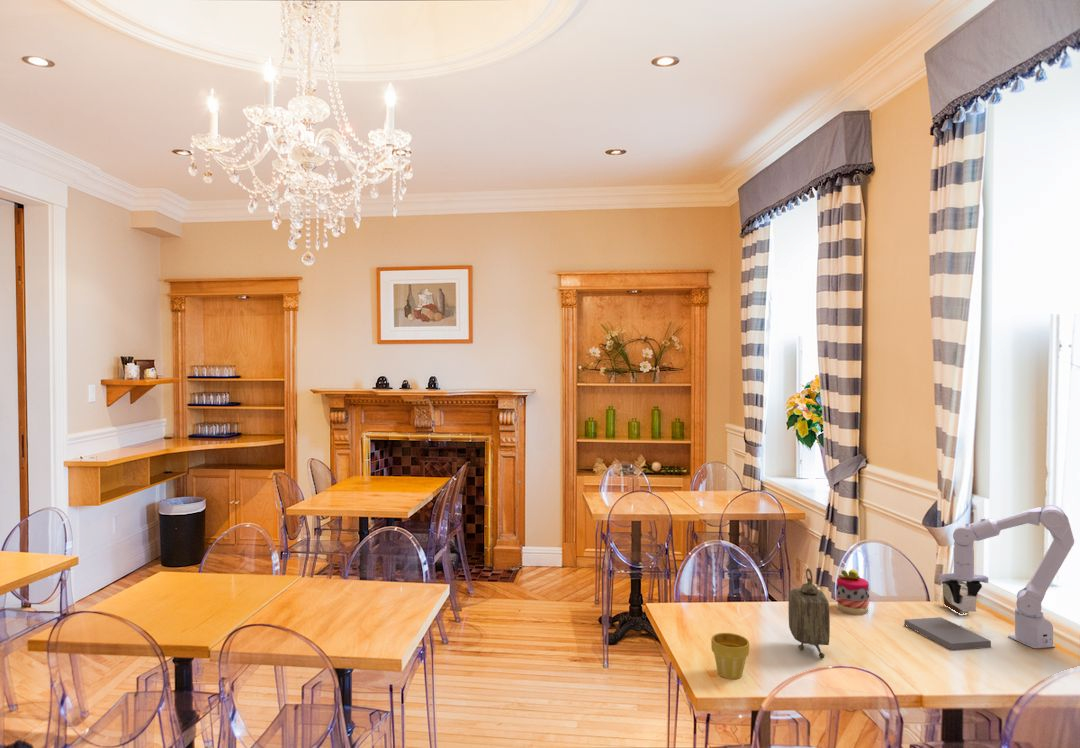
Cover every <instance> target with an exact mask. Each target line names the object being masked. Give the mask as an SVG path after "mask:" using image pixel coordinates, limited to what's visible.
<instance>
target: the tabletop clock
mask: <svg viewBox="0 0 1080 748" xmlns="http://www.w3.org/2000/svg"><path fill="white" fill-rule="evenodd" d="M808 574H809V575H810V578H809V576H808ZM805 576H806V577H805V579H806V581H807V583H804V584H802V585H801V587H800V588H794V589H791V590H790V591H788V627H789V630H790V634H791V635H792V637H793V638H794V639H795V640H796V641H797V642H799V643H800V644H799V645H798V649H799V650H800V651H804V650H805V646H804V644H807V645H808V644H809V645H814V647H815V648H816V650H817V651H818V652H819V654H818V657H819V658H820V659H825V657H826V655H825V653H823V652H822V650H821V648H820V646H819V645H821V646H829V645H830V634H831V632H830V629H831V627H830V626H831V624H830V622H831V620H830V619H831V618H830V617H831V616H830V615H831V614H830V603H829V601H828V598H827V596H826V595H825V593H824V592H823V591H822V590H821V589H818V587H817V586H816V585H815V584H813V574H812V571H811V569H810V568H809V567H808V568H806V570H805Z"/></svg>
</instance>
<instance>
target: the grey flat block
mask: <svg viewBox="0 0 1080 748" xmlns="http://www.w3.org/2000/svg"><path fill="white" fill-rule="evenodd" d="M905 625H907V626H908V627H910V628H912V629H914V630H916V631H918V632H919V633H918V632H917V633H918V634H920V633H921V634H920V635H922V634H923V635H924V637H925V636H927V637H928V638H927V637H926V638H927V639H929V638H930V640H931V639H932V640H931V641H933V640H934V642H935V641H936V642H935V643H937V642H938V643H937V644H939V645H941V646H943V647H944V646H945V647H944V648H947V649H949V650H950V651H957V650H958V651H959V650H972V649H982V648H983V649H984V648H985V649H986V648H992V641H991V640H990V639H988V638H985V636H982V635H980V634H977V633H976V632H973V631H971V630H968V629H967V628H964V627H963V626H960V625H958V624H956V623H954V622H952V621H951V620H947V619H946V618H943V617H940V616H939V617H927V618H926V617H925V618H924V617H923V618H912V619H911V618H909V619H904V626H905ZM908 627H907V628H908ZM910 628H909V629H910ZM912 629H911V630H912ZM914 630H913V631H914ZM916 631H915V632H916ZM923 635H922V636H923Z"/></svg>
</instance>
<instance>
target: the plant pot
mask: <svg viewBox="0 0 1080 748" xmlns="http://www.w3.org/2000/svg"><path fill="white" fill-rule="evenodd" d="M710 640H711V643H710V644H711V651H712V652H713V655H714V659H715V660H714V661H715V665H716V671H717V674H718V675H719V676H720V677H721V678H724V679H728V680H739V679H741V678H742V677H743V673H744V668H745V664H746V659H747V657H749V655H750V640H749V639H748V638H746V637H745V636H742V635H740V634H736V633H733V632H719V633H715V634H713V635H712V637H711V639H710Z"/></svg>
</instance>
